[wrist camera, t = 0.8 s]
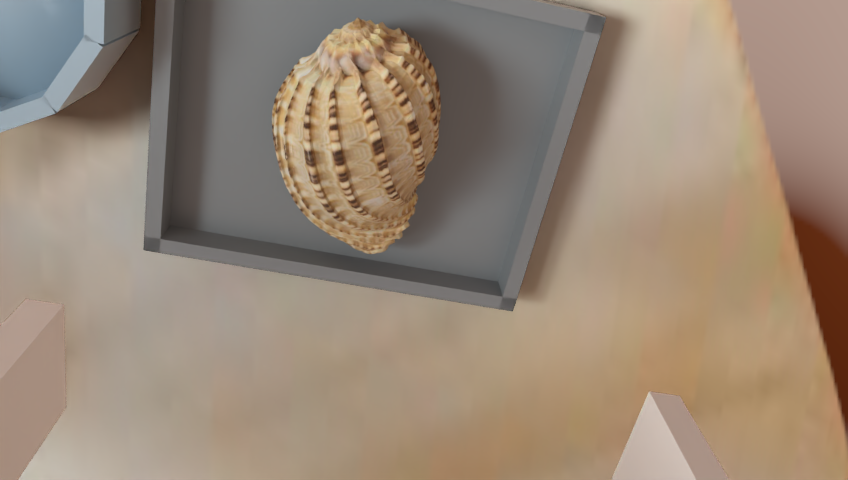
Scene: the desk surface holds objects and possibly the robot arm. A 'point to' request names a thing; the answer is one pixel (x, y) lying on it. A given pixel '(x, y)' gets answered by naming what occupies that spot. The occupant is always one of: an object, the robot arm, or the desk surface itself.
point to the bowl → (58, 52)
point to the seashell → (358, 132)
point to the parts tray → (444, 175)
